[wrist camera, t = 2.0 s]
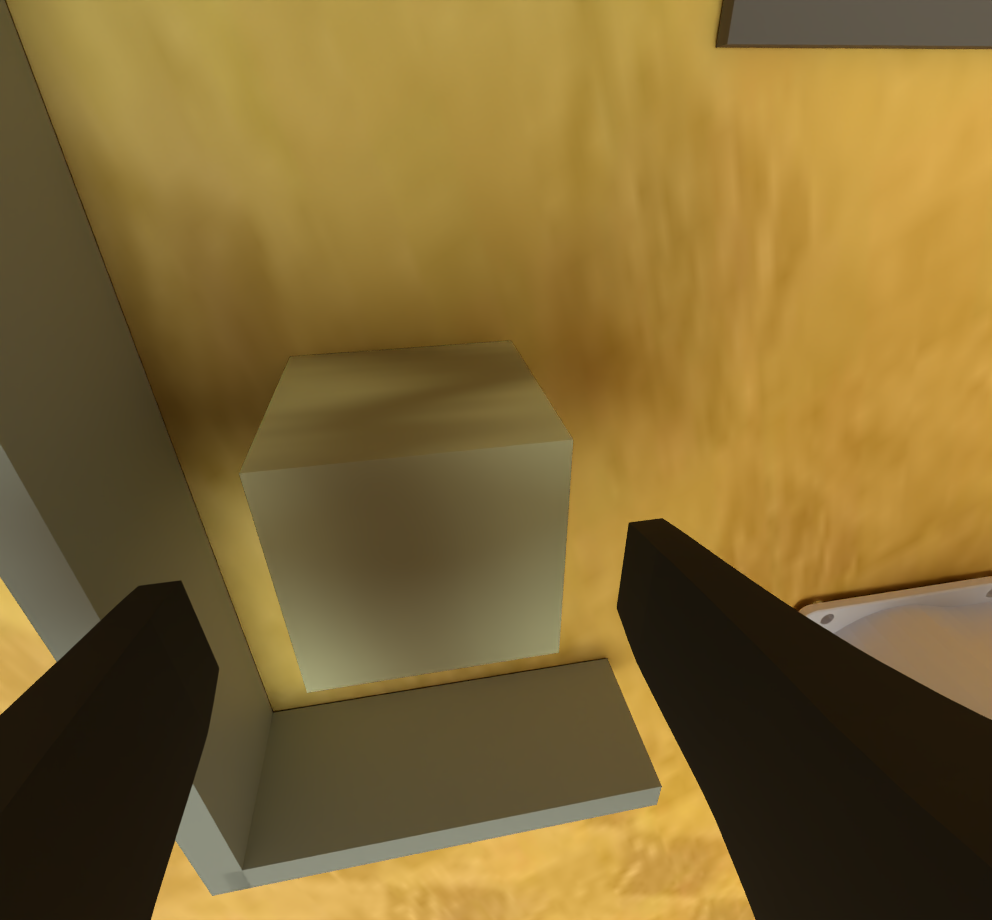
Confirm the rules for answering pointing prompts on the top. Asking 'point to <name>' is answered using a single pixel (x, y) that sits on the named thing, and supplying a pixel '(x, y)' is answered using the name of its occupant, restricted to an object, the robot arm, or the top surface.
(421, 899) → the top surface
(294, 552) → the block
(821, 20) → the rubber mat
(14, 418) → the open side box
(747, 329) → the top surface
